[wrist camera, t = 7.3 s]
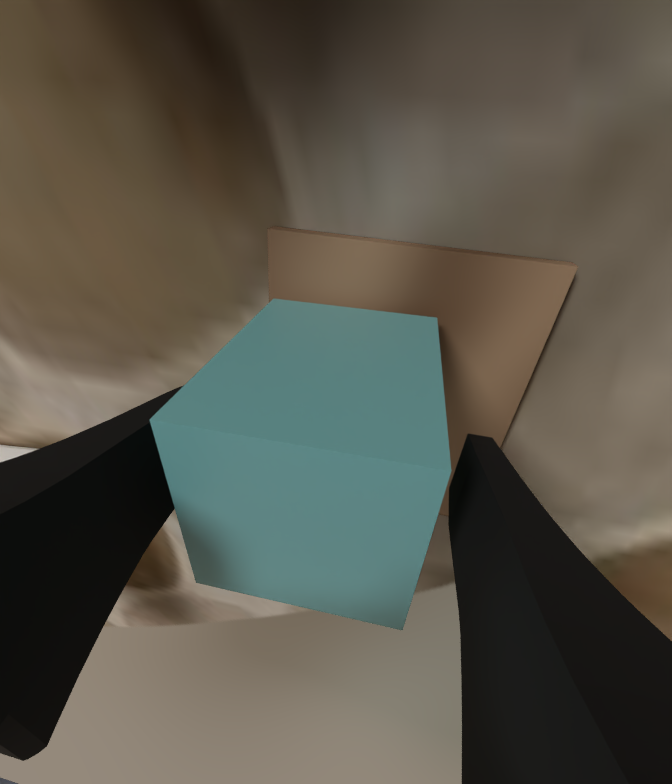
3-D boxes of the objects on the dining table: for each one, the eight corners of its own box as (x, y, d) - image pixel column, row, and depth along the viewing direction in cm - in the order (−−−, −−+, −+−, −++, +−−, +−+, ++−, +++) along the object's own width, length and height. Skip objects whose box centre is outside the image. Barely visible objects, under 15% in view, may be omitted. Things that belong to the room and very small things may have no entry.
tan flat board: (572, 262, 11) (578, 266, 10) (467, 511, 17) (469, 520, 16) (272, 225, 12) (267, 228, 11) (276, 472, 18) (273, 480, 17)
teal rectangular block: (437, 317, 11) (451, 471, 6) (409, 446, 14) (402, 630, 9) (273, 298, 12) (149, 419, 7) (279, 424, 15) (196, 582, 9)
